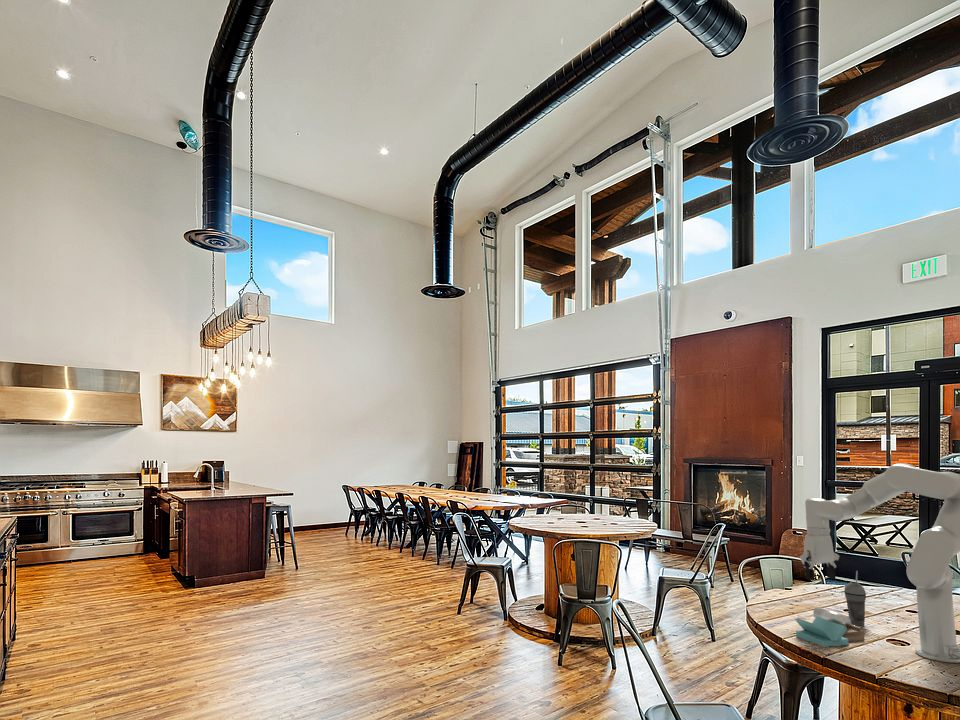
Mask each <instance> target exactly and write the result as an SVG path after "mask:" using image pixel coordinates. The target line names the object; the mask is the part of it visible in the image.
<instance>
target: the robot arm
mask: <svg viewBox="0 0 960 720" xmlns="http://www.w3.org/2000/svg"><path fill="white" fill-rule="evenodd" d="M906 492H907V493H910V494H915V495H920V496H924V497H928V498H934V499H936V500H937V499H938V500H939V499H940V500H944V502H943V505H942V506H941V508H940V509H939V511H938V515H937V517H936V520H935V521H934V524H933V525H932V527H931V528H929V529H926V530H925V531H924V532H922V534H920V536H919V538H918V539H917V541H916V544H915V546H914V549H913V551H912V553H911V556H910V558H909V560H908V562H907V565H906V571H905V572H906V576H907V578H908V580H909V581H910V582H911V584H912V585H913V586H915V587H916V606H917V616H918V617H917V618H918V629H919V630H918V631H919V639H920V641H919V642H920V645H919V646H916V647H915V649H914V650H915V651H914V652H915V653H916V654H917V655H919V656H921V657H923V658H925V659H929V660H933V661H937V662H943V663H950V664H951V663H952V664H953V663H954V664H956V663H957V664H958V663H960V645H958V644H957V642H958V641H957V632H956V631H957V630H956V623H955V622H956V621H955V614H954V613H955V611H954V610H955V609H954V598H953V571H952V569H951V566H950V563H951V560H952V558H953V557H954V556H956V555H958V554H959V553H960V474H958V473H956V472H952V471H934V470H928V469H922V468H917V467H916V466H915V465H913V464H910V463H895V464H892V465H890V466H889V467H887V469H885V470H884V472H882V473H880V474H879V475H876V476H874V477H872V478H870V479H868V480H867V481H865V482H864V483H863V484H862V487H861V488H859V489H858V490H856V491H854V492H853V493H850V494H849V495H847V496H845V497H843V498H839V499H838V498H837V499H830V500H826V499H824V498H820V497H818V498H816V497H815V498H813V497H809V498H806V499H805V503H804V505H805V520H806V534H805V536H804V543H803V554H801V555H800V556H799V560H800V562H801V564H802V565H803V568H805V577H806V579H807V580H810V581H815V569H814V567H815V564H816V565H819V564H820V565H821V564H826V565H827V566H826V577H827V578H828V579H831V580H836V578H837V577H836V568H837V565H838V564H839V559H840V555H839V554H838V553H836V552H834V546H833V545H834V543H833V540H832V537H831V528H830V520H831V521H835V522H841V521H845V520H850V519H853V518H856V517H857V516H859V515H861V514H864V513H866V512H868V511H870V510H872V509H874V508H875V507H877V506H880V505H882V504H884V503H886V502H887V501H889V500H892V499H893V498H895V497H898V496H900V495H902V494H904V493H906Z"/></svg>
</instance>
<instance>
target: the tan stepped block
mask: <svg viewBox="0 0 960 720" xmlns="http://www.w3.org/2000/svg"><path fill="white" fill-rule="evenodd" d="M862 628H863V627H860V626H854V625H850V627H849V628H848V629H847V630H846V631H845V633H844V634H843V636H842V637H844V638H847V639H848V643H850V642H858V641H857V640H860V641H865V631H864V630H863V629H862Z"/></svg>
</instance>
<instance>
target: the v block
mask: <svg viewBox="0 0 960 720" xmlns="http://www.w3.org/2000/svg"><path fill="white" fill-rule="evenodd" d="M795 622H796V623H797V624H798V625H799V626H800V627H801V628H802V629H799V630H795V636H796V637H797V638H799V639H801V638H802V640H804V641H806V640H807V641H806V642H809V641H810V642H809V643H811V642H813V643H812V644H814V643H816V644H818V645H817V646H819V645H821V646H823V647H822V648H824V647H826V648H830V647H829V646H836V647H844V646H843V645H846V646H849V643H850V642H848V639H847V638H844V637H842V636H843V634H844V633H845V631H846V630H847V628H846V627H845V626H843V625H840V624H837V623H834V622H832V621H829V620H826V619H823V618H820V617H816V618H815V617H814V620H813V621H812V622H810V621H807V620H806V619H805V620H804V619H802V618H799V617H797V618H796V619H795ZM816 644H815V645H816ZM841 645H842V646H841ZM821 646H820V647H821Z"/></svg>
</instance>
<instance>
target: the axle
mask: <svg viewBox="0 0 960 720" xmlns="http://www.w3.org/2000/svg"><path fill="white" fill-rule="evenodd" d="M812 615H813V617H814V619H815V618H816V617H820V618H823V619H826V620H829V621H832V622H834V623H837V624H840V625H843V626H845V627H846V628H847V629H848V628H849V627H850V625H851V620H850V618H849V615H844V614H842V613H838V612H836V611H832V610H829V609H826V608H822V607H820V606H817V607H815V608H814V609H813V614H812Z"/></svg>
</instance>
